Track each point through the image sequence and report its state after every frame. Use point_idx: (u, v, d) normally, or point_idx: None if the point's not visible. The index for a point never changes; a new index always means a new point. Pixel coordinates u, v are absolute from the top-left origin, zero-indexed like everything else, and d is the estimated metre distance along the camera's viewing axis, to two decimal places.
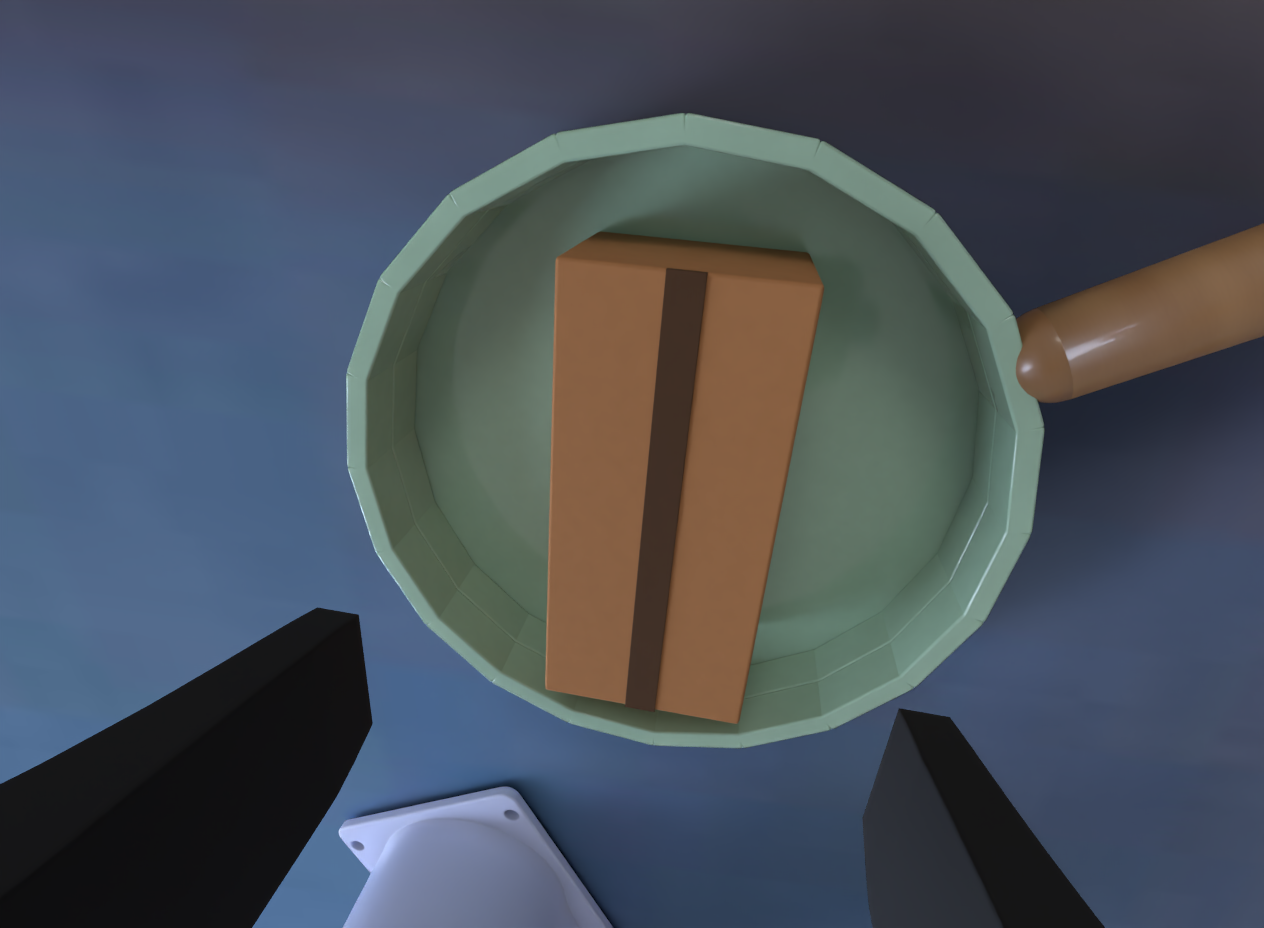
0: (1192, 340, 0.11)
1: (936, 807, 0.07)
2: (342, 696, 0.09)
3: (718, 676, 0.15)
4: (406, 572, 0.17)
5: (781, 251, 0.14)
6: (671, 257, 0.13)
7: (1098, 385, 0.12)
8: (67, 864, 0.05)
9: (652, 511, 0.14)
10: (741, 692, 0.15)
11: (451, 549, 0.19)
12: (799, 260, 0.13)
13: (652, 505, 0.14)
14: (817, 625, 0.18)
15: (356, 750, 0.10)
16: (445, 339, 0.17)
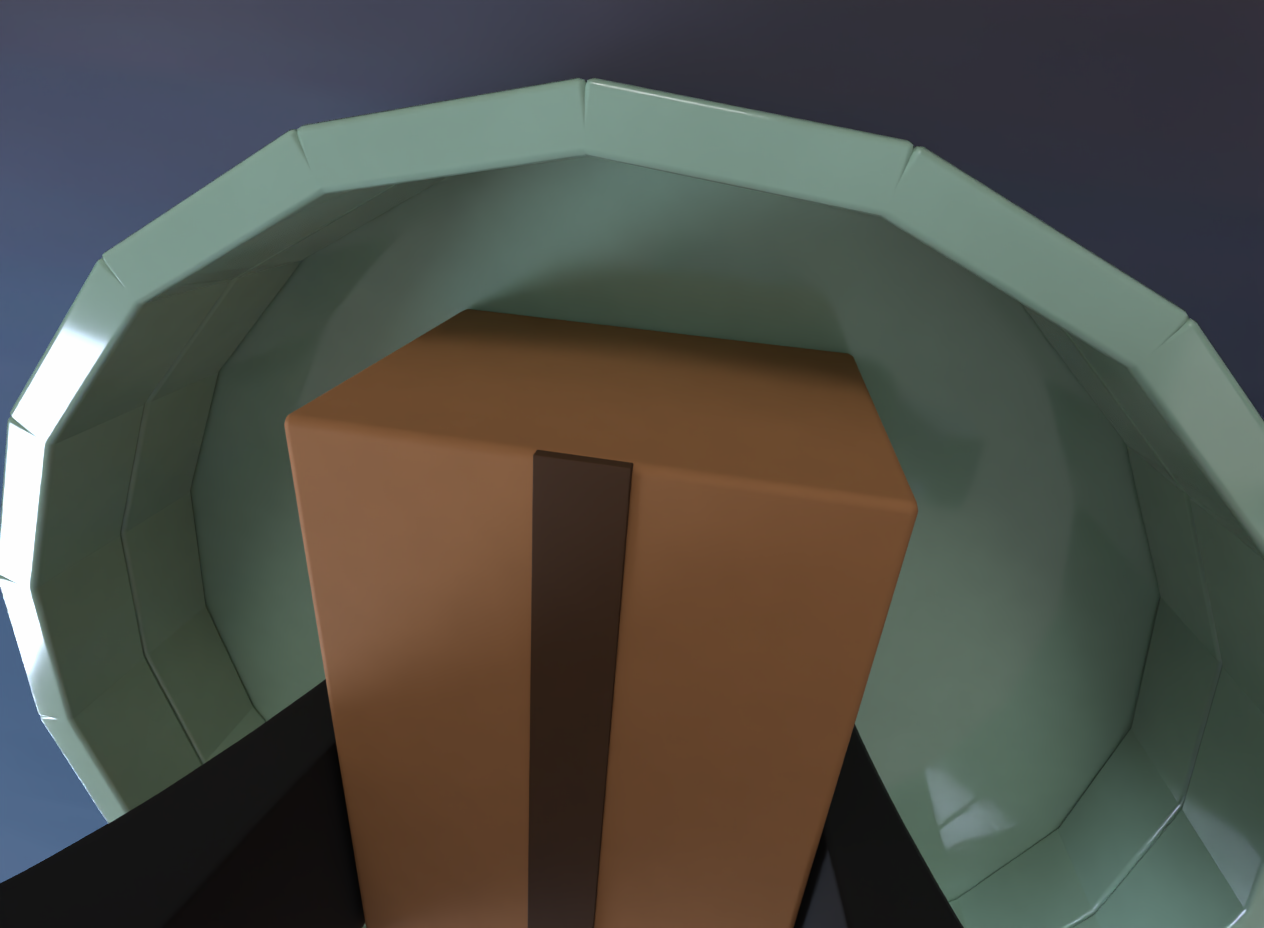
0: None
1: None
2: None
3: None
4: None
5: (800, 353, 0.08)
6: (568, 396, 0.06)
7: None
8: (208, 896, 0.05)
9: (547, 876, 0.07)
10: None
11: None
12: (839, 385, 0.07)
13: (544, 870, 0.07)
14: None
15: None
16: (233, 477, 0.10)
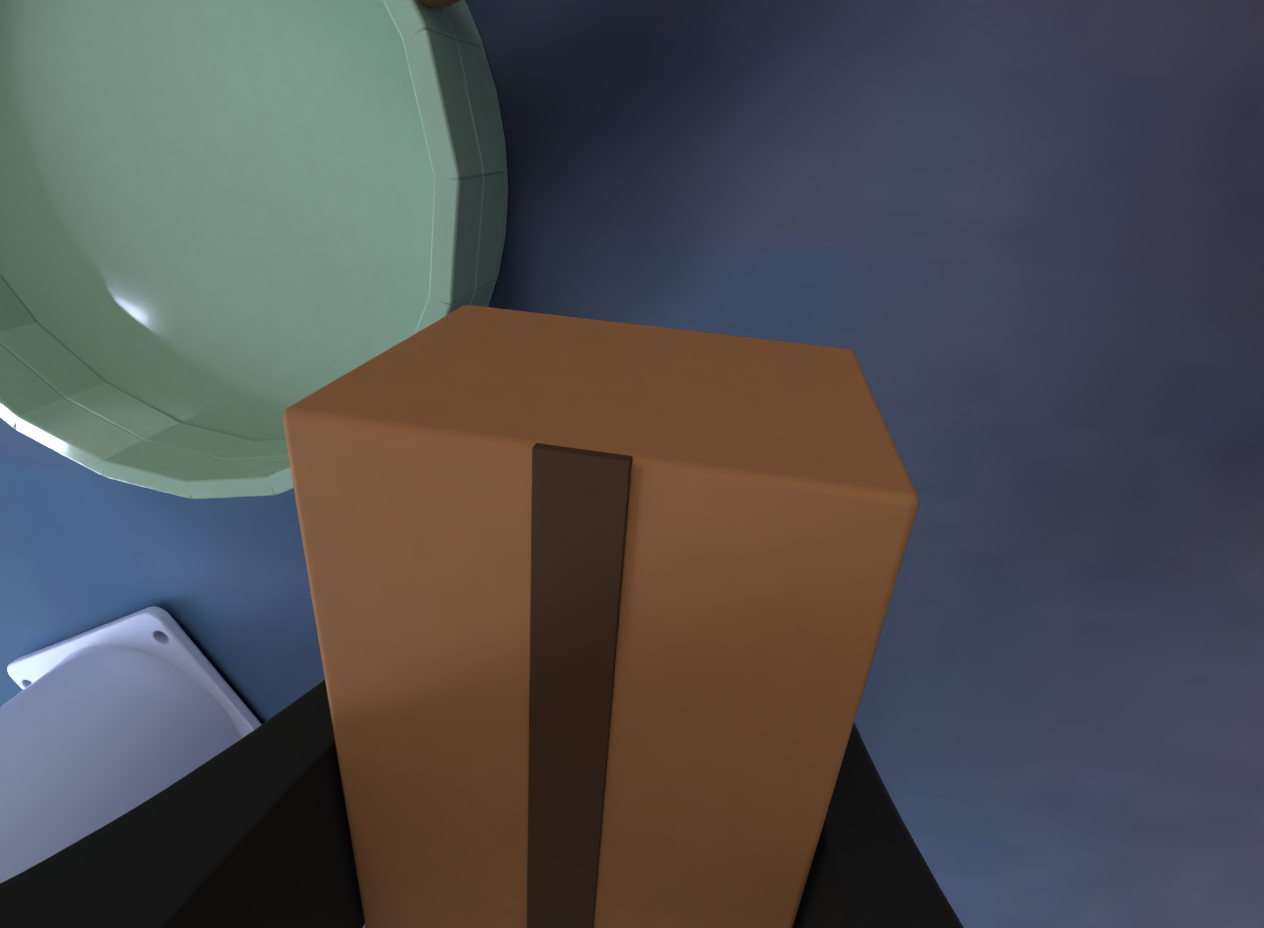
0: None
1: None
2: None
3: None
4: None
5: (801, 349, 0.07)
6: (567, 390, 0.06)
7: None
8: (208, 896, 0.05)
9: (546, 873, 0.07)
10: None
11: None
12: (840, 380, 0.07)
13: (544, 866, 0.07)
14: None
15: None
16: None
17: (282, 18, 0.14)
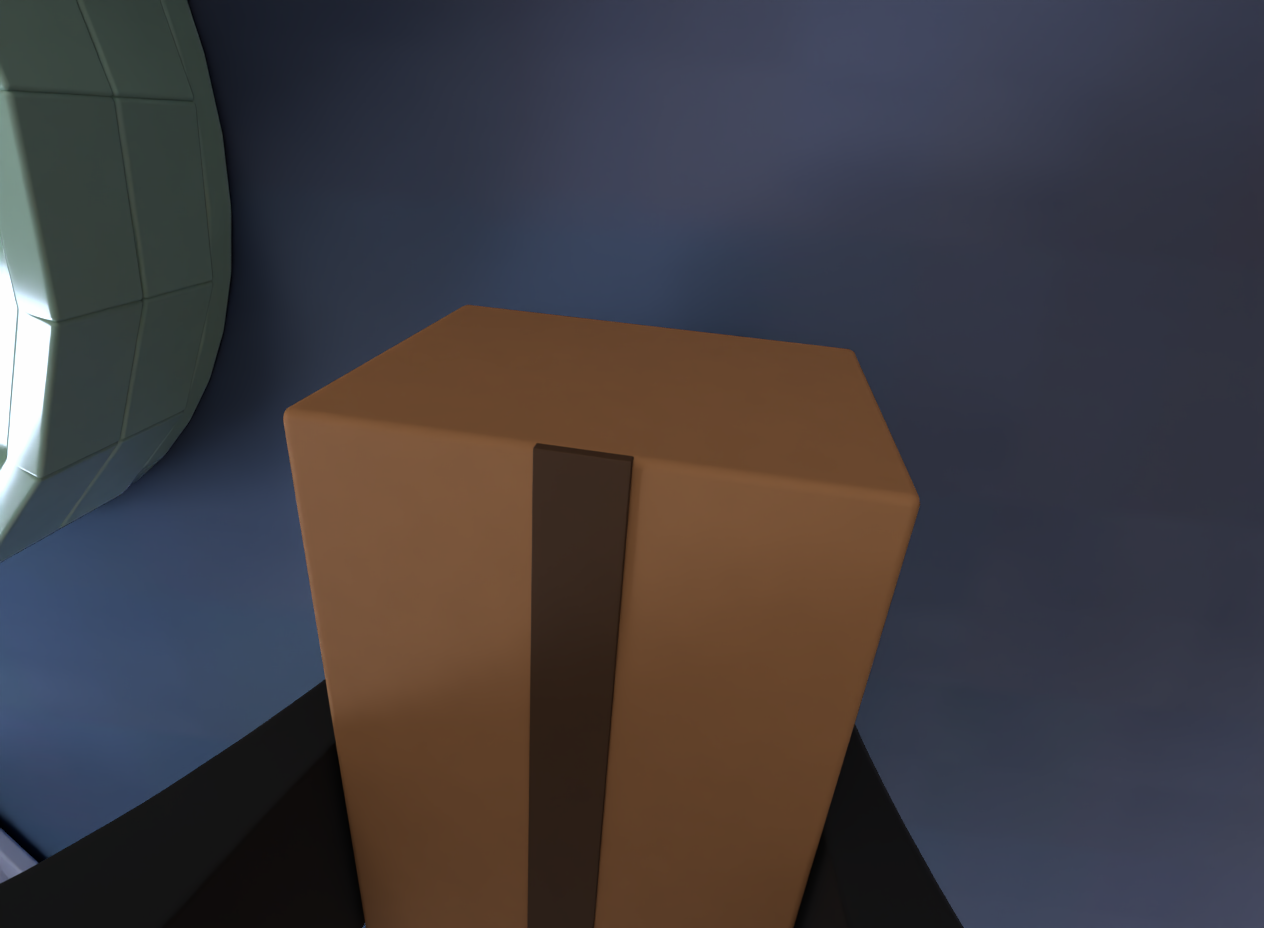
0: None
1: None
2: None
3: None
4: None
5: (801, 349, 0.07)
6: (568, 391, 0.06)
7: None
8: (208, 896, 0.05)
9: (547, 873, 0.07)
10: None
11: None
12: (841, 380, 0.07)
13: (545, 867, 0.07)
14: None
15: None
16: None
17: None
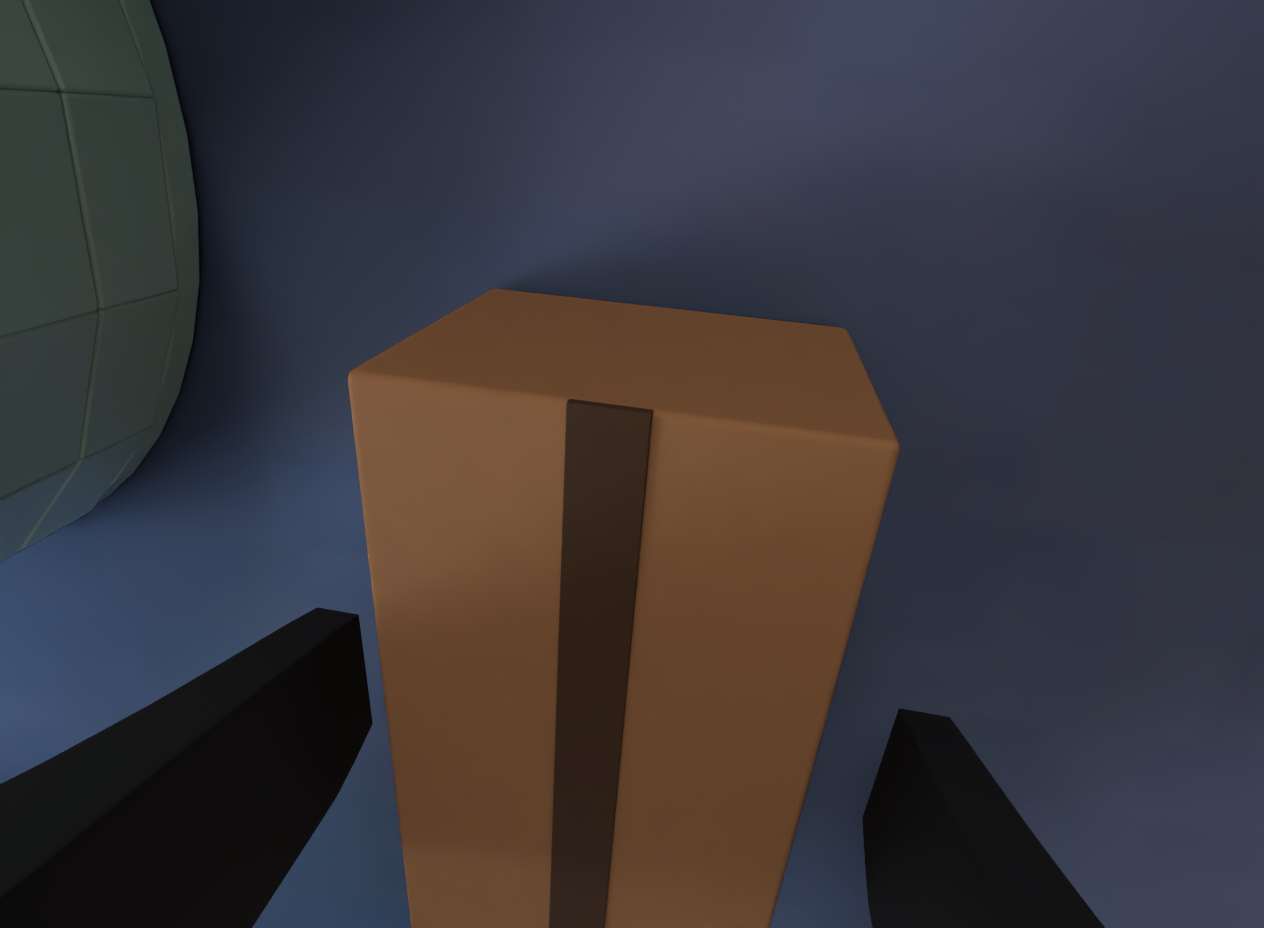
0: None
1: (936, 806, 0.07)
2: (342, 696, 0.09)
3: None
4: None
5: (800, 327, 0.08)
6: (592, 359, 0.07)
7: None
8: (67, 864, 0.05)
9: (571, 797, 0.08)
10: None
11: None
12: (834, 353, 0.07)
13: (568, 791, 0.08)
14: None
15: (356, 750, 0.10)
16: None
17: None
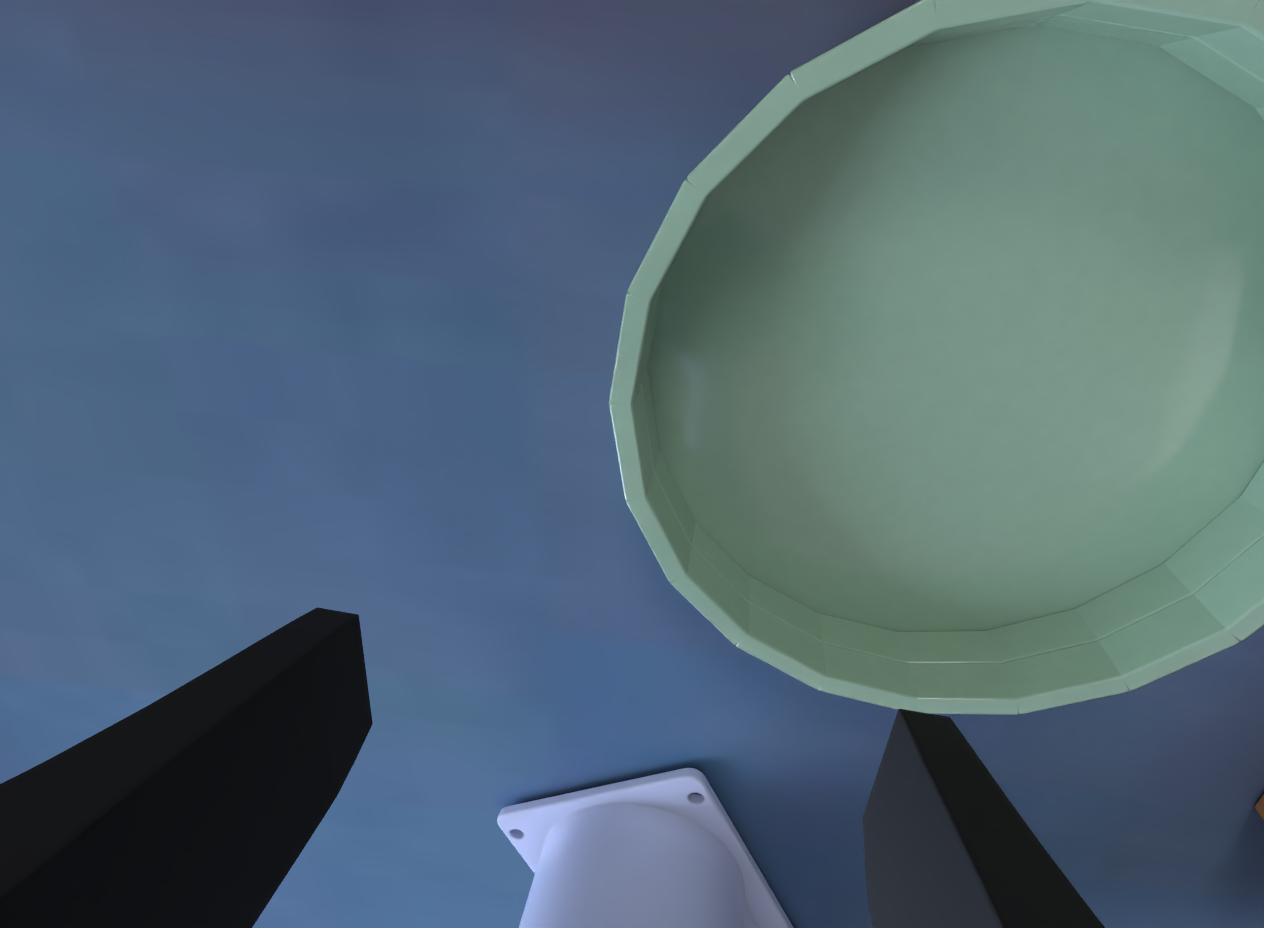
0: None
1: (936, 806, 0.07)
2: (342, 696, 0.09)
3: None
4: (656, 523, 0.15)
5: None
6: None
7: None
8: (67, 864, 0.05)
9: None
10: None
11: (679, 503, 0.17)
12: None
13: None
14: (1083, 581, 0.17)
15: (356, 750, 0.10)
16: (699, 266, 0.15)
17: (1129, 266, 0.14)
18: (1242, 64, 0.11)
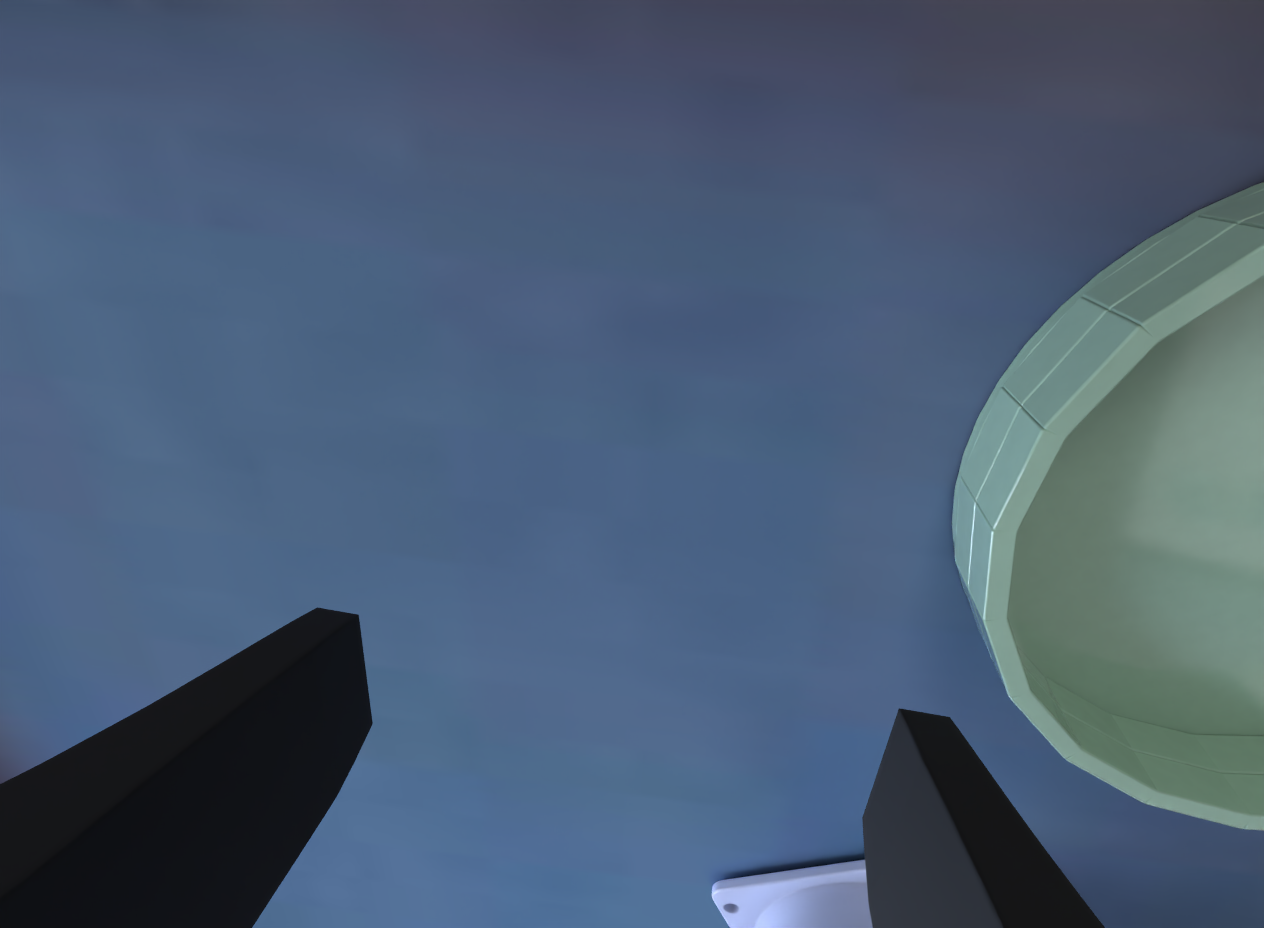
0: None
1: (936, 806, 0.07)
2: (342, 696, 0.09)
3: None
4: (1011, 642, 0.15)
5: None
6: None
7: None
8: (67, 864, 0.05)
9: None
10: None
11: None
12: None
13: None
14: None
15: (356, 750, 0.10)
16: None
17: None
18: None
